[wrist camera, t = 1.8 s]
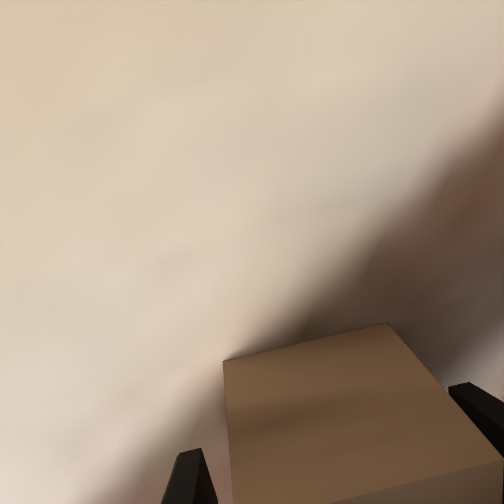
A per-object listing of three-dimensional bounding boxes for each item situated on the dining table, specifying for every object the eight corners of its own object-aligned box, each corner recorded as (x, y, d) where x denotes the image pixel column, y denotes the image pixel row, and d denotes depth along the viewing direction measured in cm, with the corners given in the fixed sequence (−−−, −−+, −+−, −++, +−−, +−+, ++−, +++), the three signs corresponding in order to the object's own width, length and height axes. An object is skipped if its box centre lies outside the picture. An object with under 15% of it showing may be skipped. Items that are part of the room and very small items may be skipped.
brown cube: (403, 443, 14) (507, 617, 9) (254, 480, 13) (281, 678, 9) (393, 319, 12) (517, 455, 7) (222, 359, 12) (234, 527, 7)
